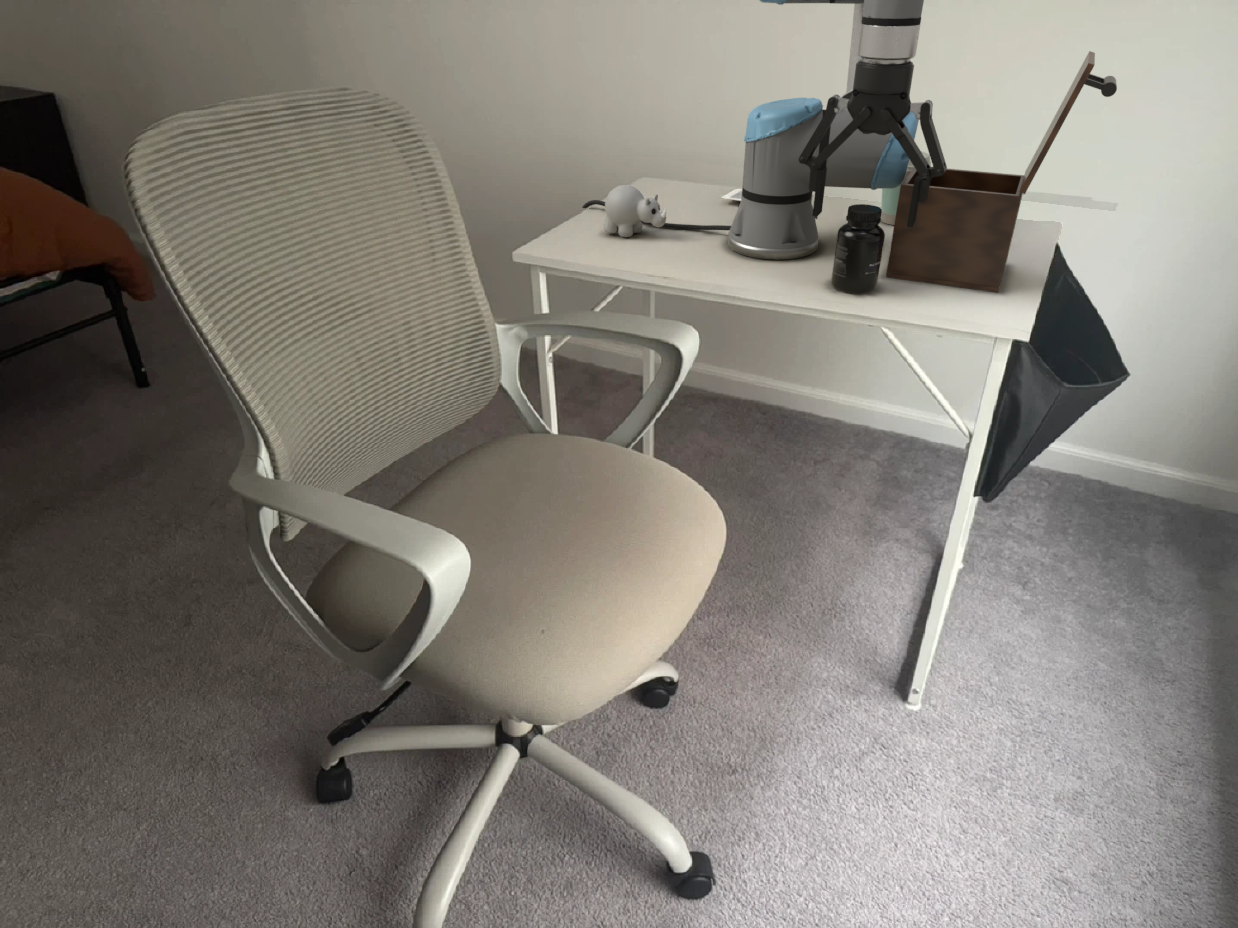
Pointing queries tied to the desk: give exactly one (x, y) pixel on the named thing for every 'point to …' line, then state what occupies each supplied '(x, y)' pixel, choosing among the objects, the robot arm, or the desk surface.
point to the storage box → (956, 230)
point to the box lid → (1082, 77)
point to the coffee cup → (895, 196)
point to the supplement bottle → (858, 250)
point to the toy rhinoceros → (631, 211)
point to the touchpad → (734, 195)
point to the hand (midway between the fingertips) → (863, 219)
